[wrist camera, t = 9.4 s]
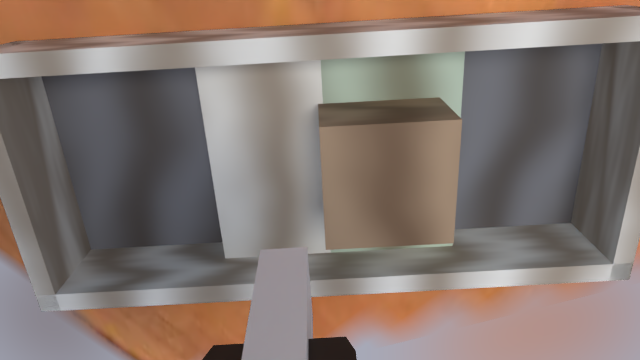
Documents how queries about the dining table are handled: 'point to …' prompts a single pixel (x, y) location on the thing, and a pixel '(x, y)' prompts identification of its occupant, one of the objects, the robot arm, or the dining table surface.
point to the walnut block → (389, 172)
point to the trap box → (316, 154)
